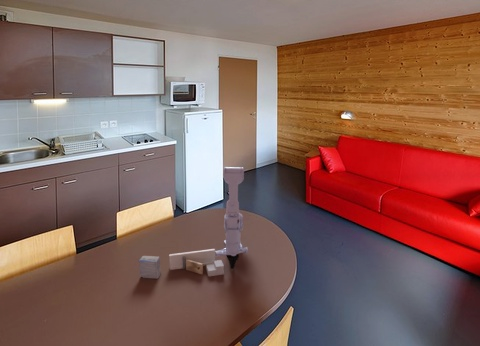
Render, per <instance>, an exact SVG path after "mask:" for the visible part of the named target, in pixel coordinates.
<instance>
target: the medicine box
mask: <svg viewBox="0 0 480 346" xmlns="http://www.w3.org/2000/svg"><path fill="white" fill-rule="evenodd" d="M138 265H139V266H138V267H139V276H140V278H141V277H143V278H142V279H157V280H158V279H159V277H160V275H161V274H162V270H161V269H162V268H161V257H160V256H154V255H142V256H141V258H139V260H138Z"/></svg>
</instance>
